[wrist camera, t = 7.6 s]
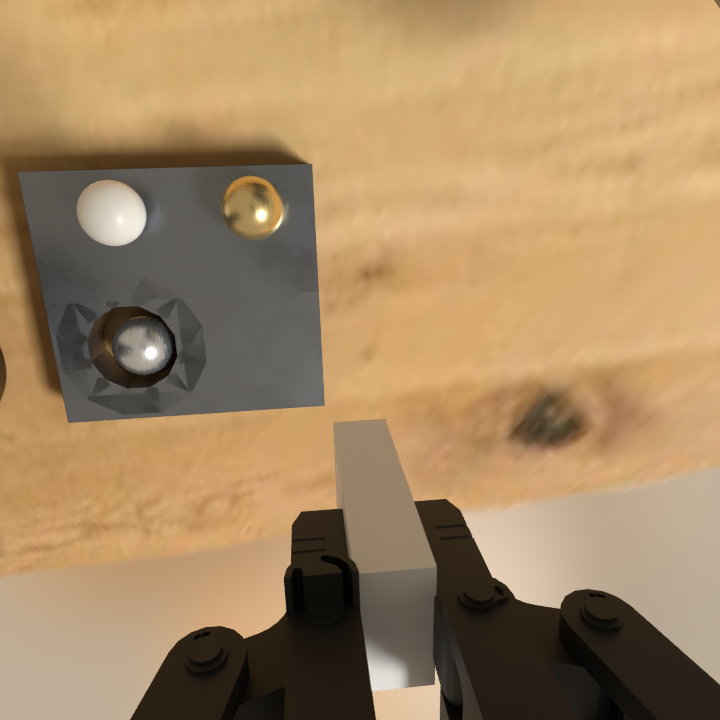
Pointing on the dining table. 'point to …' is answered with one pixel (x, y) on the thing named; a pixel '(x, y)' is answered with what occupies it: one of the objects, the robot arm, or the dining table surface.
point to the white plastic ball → (111, 212)
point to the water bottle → (2, 374)
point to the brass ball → (252, 208)
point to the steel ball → (143, 345)
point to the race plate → (182, 294)
